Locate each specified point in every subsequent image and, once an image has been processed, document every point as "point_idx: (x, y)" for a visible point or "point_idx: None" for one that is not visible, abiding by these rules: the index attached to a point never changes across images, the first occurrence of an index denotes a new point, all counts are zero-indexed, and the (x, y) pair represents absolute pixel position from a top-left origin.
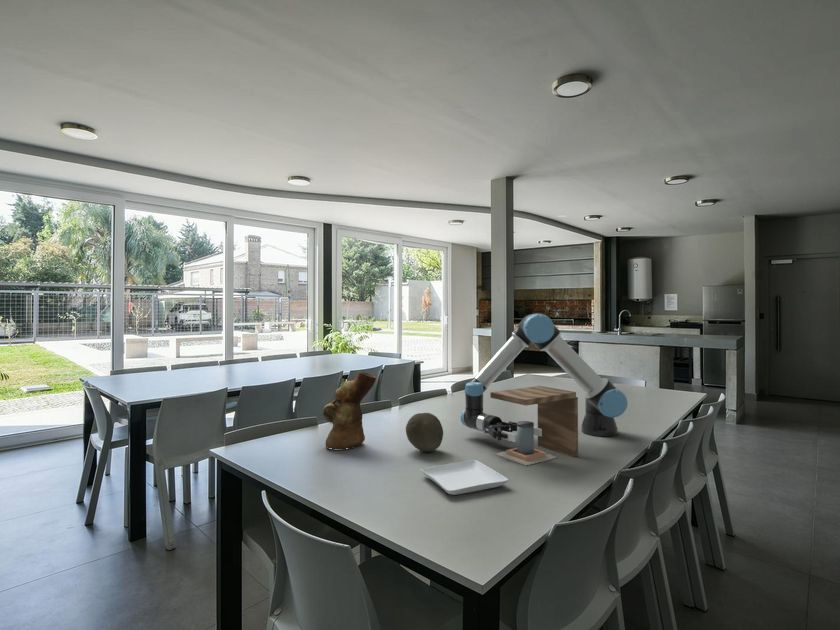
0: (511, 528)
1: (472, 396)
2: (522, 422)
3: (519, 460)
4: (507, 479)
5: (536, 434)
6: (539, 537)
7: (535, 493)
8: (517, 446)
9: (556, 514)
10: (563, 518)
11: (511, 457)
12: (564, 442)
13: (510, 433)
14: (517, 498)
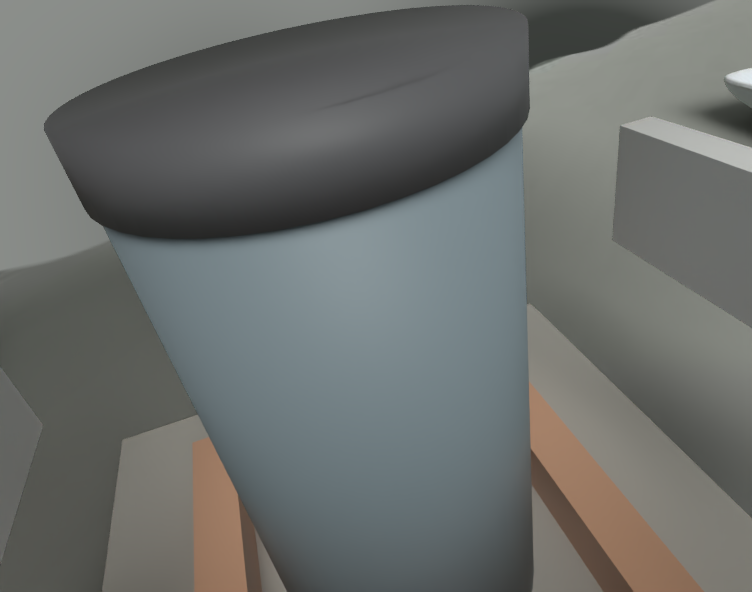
0: (711, 28)
1: None
2: (328, 64)
3: (564, 391)
4: (729, 76)
5: (7, 491)
6: (641, 27)
7: (590, 112)
8: (530, 494)
9: (563, 65)
10: (551, 61)
11: (652, 497)
12: None
13: (727, 146)
14: (677, 89)
